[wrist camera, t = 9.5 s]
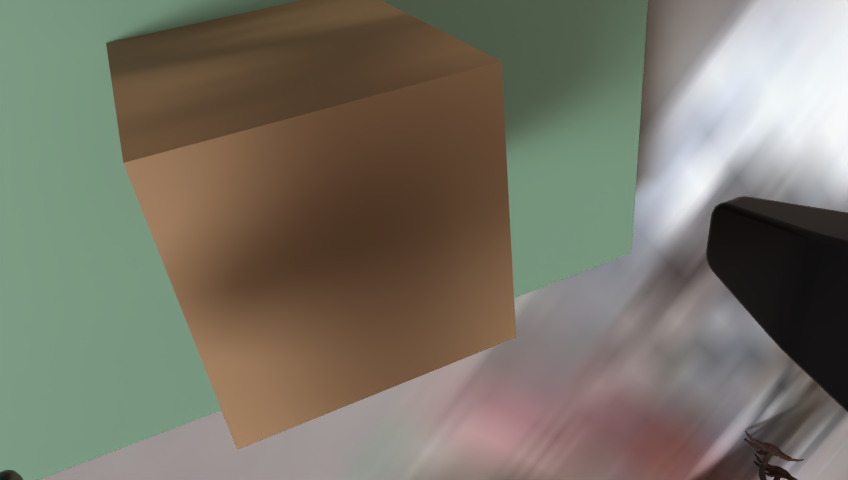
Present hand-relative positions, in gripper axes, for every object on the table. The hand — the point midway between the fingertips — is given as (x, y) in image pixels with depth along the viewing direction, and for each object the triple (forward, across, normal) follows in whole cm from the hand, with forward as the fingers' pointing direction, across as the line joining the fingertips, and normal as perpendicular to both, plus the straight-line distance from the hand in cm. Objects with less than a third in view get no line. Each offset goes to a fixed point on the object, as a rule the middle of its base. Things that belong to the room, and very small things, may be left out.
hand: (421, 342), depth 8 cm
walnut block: (+8, 0, 0) cm, 8 cm away
